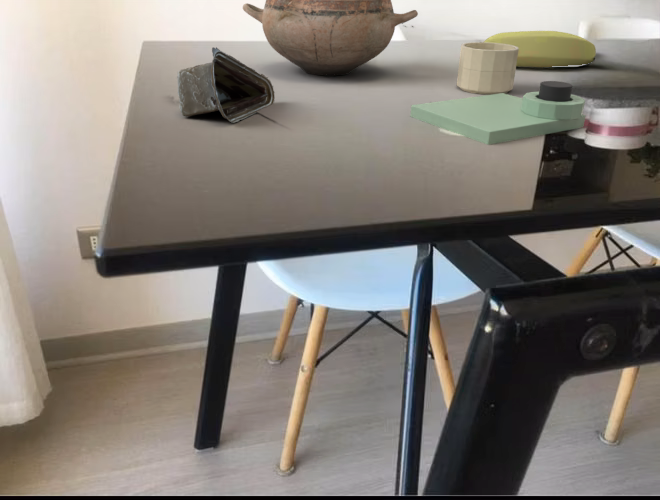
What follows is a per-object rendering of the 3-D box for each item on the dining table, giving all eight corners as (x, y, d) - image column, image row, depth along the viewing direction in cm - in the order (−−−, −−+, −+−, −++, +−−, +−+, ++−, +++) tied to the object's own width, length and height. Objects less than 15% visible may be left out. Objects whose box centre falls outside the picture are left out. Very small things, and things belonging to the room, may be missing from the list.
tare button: (551, 96, 69) (554, 79, 68) (575, 102, 66) (579, 85, 65) (531, 99, 67) (534, 82, 66) (555, 105, 65) (558, 88, 64)
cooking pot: (415, 64, 99) (422, -20, 94) (410, 89, 83) (417, -12, 77) (261, 56, 103) (259, -25, 97) (226, 79, 86) (221, -18, 81)
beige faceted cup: (484, 82, 88) (489, 41, 85) (523, 93, 82) (530, 48, 80) (445, 87, 84) (449, 44, 82) (483, 98, 79) (489, 52, 76)
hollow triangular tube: (228, 98, 77) (164, 33, 67) (277, 87, 74) (219, 17, 64) (215, 166, 73) (146, 108, 64) (267, 157, 70) (203, 95, 61)
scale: (504, 104, 76) (507, 78, 75) (591, 128, 67) (597, 100, 66) (409, 117, 69) (412, 90, 68) (492, 147, 60) (496, 116, 59)
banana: (592, 23, 91) (456, 31, 100) (588, 63, 92) (454, 67, 101) (598, 39, 103) (476, 44, 112) (594, 73, 104) (474, 76, 113)
